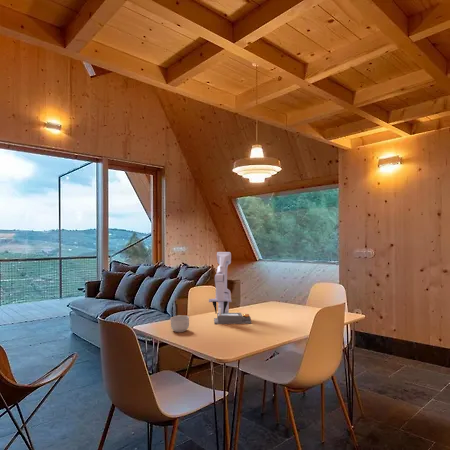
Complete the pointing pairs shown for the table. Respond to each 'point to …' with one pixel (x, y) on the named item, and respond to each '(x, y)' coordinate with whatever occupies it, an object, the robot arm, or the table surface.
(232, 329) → the table surface
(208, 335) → the table surface
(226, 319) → the housing
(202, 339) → the table surface
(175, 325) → the teacup
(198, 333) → the table surface
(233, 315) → the cartridge
